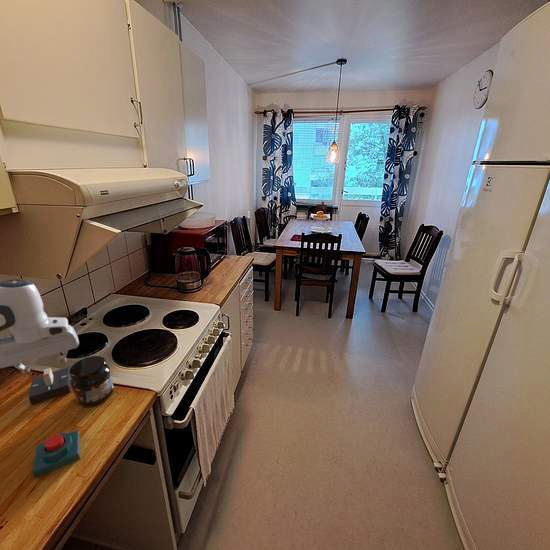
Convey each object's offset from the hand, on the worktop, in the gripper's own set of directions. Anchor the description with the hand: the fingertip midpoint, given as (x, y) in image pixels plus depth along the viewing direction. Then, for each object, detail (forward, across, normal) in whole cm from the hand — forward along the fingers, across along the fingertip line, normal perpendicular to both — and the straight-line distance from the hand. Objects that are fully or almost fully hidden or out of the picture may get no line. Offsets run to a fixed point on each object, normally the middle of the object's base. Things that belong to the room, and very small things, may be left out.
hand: (45, 367), depth 91 cm
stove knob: (+6, 0, 0) cm, 6 cm away
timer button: (+5, +3, -29) cm, 29 cm away
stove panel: (+9, 0, 0) cm, 9 cm away
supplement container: (+9, +12, -11) cm, 18 cm away
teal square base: (+9, +3, -29) cm, 30 cm away
